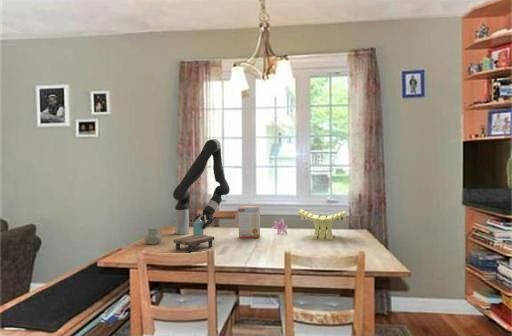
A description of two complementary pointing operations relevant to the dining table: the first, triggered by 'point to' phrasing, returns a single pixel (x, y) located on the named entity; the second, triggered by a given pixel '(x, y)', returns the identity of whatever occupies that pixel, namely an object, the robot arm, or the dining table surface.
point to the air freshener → (153, 236)
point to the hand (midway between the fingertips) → (198, 228)
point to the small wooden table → (193, 241)
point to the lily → (280, 226)
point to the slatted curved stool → (322, 223)
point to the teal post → (197, 228)
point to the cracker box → (249, 221)
